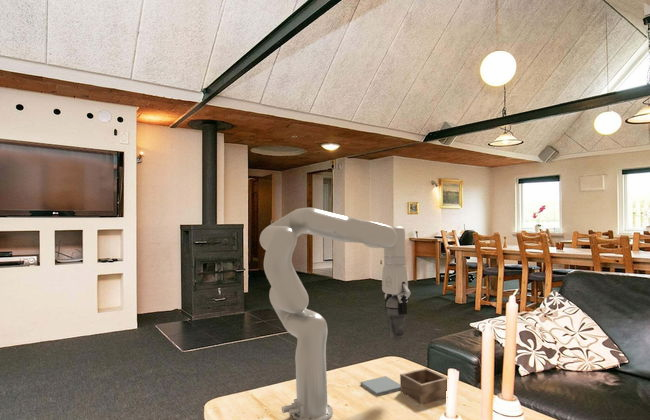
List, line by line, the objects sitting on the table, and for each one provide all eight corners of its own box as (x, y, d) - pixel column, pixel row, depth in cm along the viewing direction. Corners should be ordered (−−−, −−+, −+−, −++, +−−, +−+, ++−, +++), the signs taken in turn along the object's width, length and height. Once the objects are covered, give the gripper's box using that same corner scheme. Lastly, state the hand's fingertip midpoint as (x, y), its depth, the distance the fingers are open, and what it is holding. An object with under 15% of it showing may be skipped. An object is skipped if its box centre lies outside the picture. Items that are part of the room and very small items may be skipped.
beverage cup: (406, 343, 138) (405, 284, 139) (385, 342, 140) (384, 283, 141) (407, 337, 145) (406, 281, 146) (387, 336, 147) (385, 281, 148)
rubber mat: (377, 395, 138) (377, 392, 138) (360, 384, 148) (360, 382, 148) (403, 389, 143) (403, 386, 143) (385, 378, 153) (385, 376, 153)
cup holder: (422, 404, 131) (421, 385, 131) (400, 391, 141) (400, 374, 141) (449, 396, 136) (448, 378, 136) (426, 385, 146) (426, 368, 146)
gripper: (373, 260, 150) (373, 308, 150) (400, 263, 134) (401, 318, 134) (390, 259, 153) (391, 306, 153) (418, 262, 137) (420, 315, 137)
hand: (395, 311), depth 143 cm, fingers closed on beverage cup, 7 cm apart
